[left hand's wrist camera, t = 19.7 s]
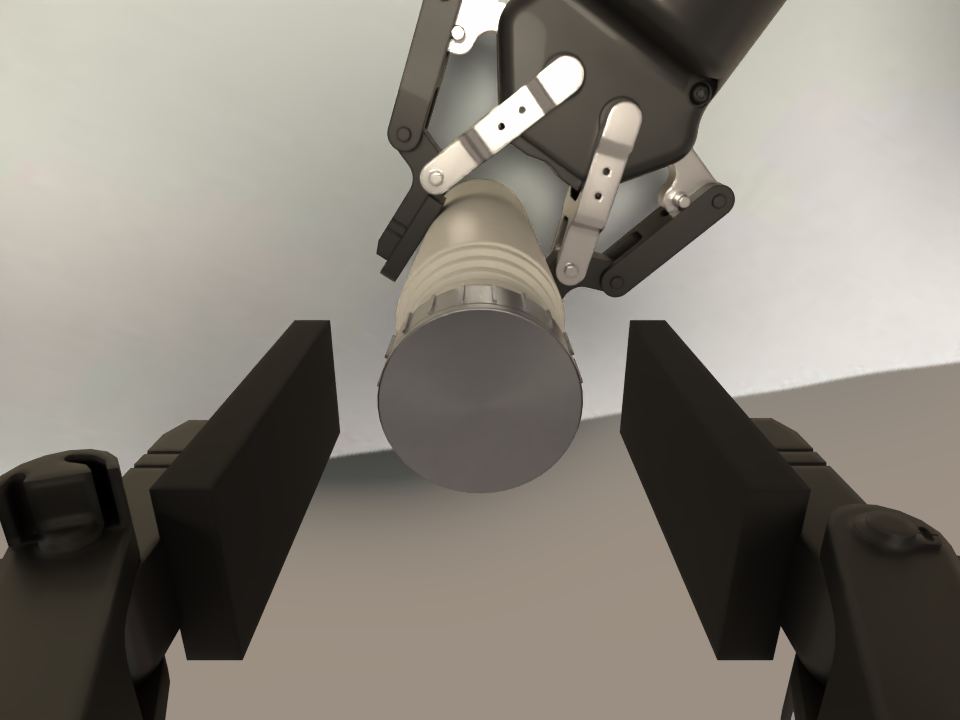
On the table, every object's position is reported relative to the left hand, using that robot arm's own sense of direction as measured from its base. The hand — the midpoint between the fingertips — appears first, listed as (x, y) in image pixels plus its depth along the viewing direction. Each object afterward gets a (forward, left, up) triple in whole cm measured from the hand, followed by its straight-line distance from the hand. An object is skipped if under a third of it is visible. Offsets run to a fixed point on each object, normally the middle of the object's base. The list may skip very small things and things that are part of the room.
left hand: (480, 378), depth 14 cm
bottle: (0, 0, -19) cm, 19 cm away
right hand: (-2, -2, -13) cm, 13 cm away
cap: (0, 0, +1) cm, 1 cm away
